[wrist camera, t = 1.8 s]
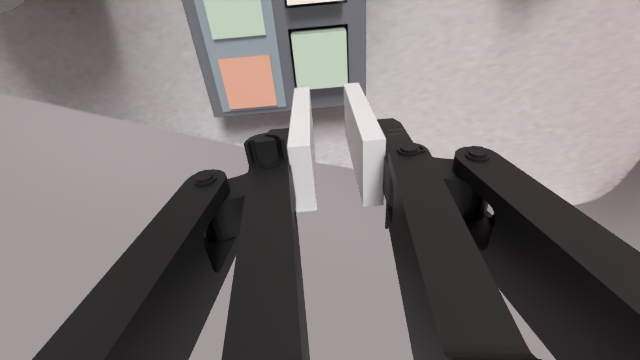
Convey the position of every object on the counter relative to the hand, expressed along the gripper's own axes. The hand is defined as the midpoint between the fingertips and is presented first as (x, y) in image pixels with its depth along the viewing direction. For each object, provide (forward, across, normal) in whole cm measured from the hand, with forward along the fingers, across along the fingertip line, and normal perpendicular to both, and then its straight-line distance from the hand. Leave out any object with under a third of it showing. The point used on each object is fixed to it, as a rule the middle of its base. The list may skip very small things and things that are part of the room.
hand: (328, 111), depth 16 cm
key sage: (+14, 0, 0) cm, 14 cm away
